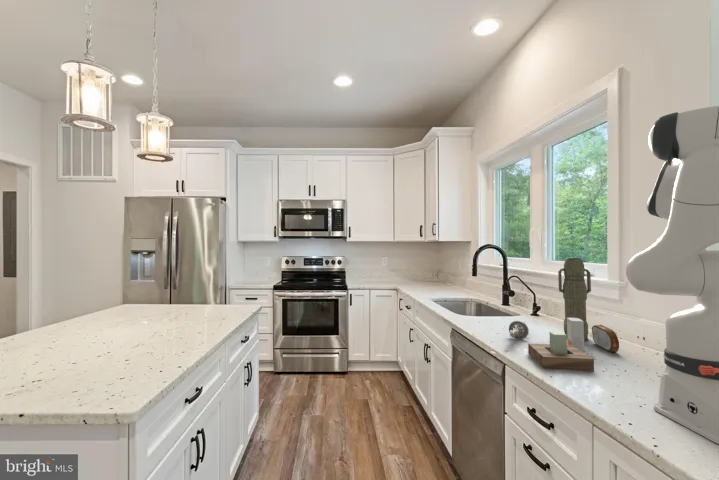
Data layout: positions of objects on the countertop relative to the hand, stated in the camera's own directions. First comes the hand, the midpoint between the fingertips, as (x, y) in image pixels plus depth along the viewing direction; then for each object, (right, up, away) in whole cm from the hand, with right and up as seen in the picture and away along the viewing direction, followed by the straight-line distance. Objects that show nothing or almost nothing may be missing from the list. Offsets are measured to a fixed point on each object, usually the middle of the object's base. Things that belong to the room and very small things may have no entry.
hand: (644, 276), depth 106 cm
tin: (+3, -31, +21) cm, 37 cm away
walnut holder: (-24, -31, +6) cm, 40 cm away
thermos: (+1, -31, +35) cm, 47 cm away
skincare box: (-10, -31, +19) cm, 38 cm away
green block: (-24, -30, +6) cm, 39 cm away
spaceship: (-24, -32, +35) cm, 53 cm away
